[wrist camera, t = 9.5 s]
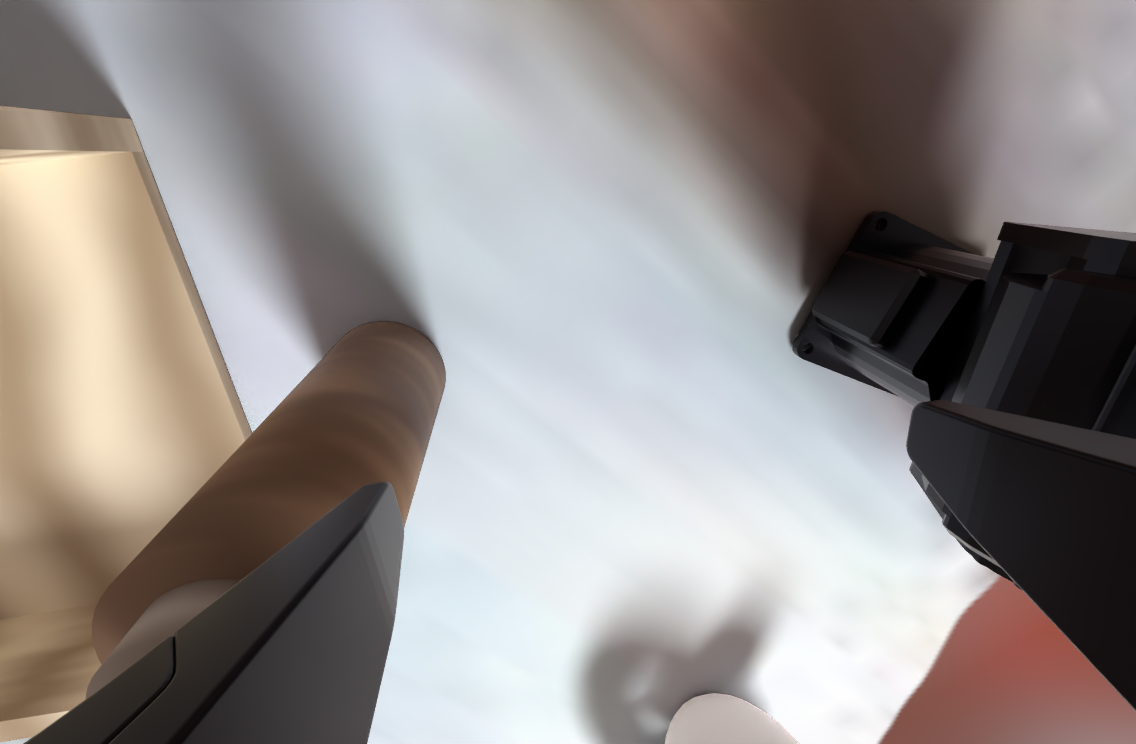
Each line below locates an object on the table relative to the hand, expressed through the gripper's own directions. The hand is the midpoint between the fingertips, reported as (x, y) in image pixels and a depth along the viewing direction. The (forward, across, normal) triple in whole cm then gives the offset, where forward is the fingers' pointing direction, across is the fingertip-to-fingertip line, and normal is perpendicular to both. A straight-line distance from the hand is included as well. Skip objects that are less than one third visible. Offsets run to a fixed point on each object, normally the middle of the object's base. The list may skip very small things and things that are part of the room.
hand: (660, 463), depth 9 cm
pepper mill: (+13, +8, +3) cm, 16 cm away
